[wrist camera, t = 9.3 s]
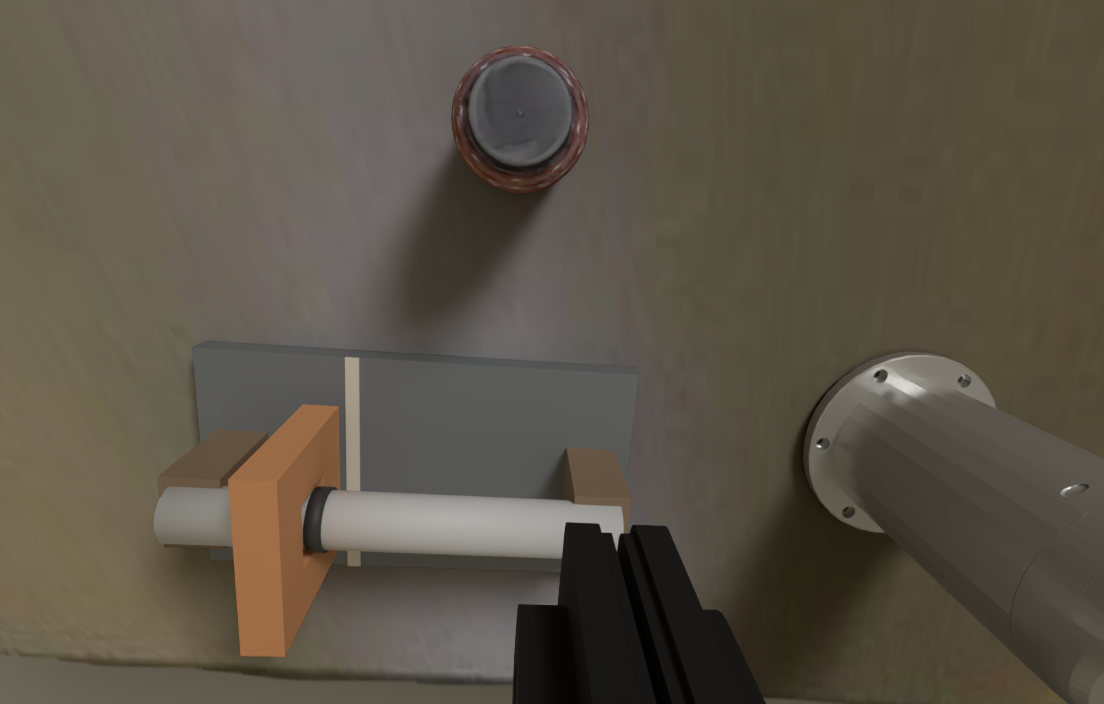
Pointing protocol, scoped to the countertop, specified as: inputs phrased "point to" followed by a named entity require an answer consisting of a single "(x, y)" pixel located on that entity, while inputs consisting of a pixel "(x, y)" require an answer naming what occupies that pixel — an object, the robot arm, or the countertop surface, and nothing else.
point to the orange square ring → (280, 529)
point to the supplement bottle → (520, 119)
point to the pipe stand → (414, 454)
